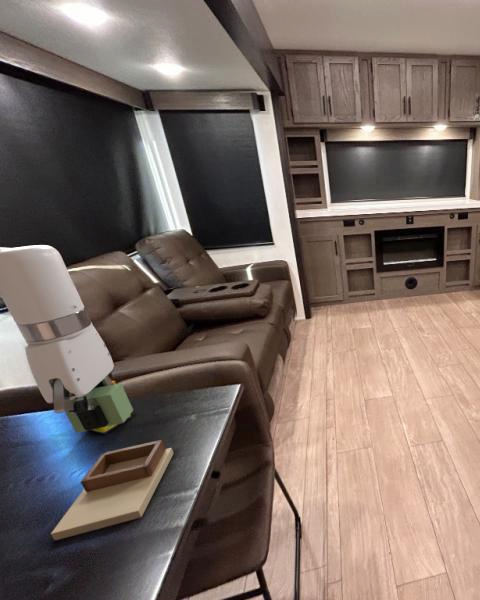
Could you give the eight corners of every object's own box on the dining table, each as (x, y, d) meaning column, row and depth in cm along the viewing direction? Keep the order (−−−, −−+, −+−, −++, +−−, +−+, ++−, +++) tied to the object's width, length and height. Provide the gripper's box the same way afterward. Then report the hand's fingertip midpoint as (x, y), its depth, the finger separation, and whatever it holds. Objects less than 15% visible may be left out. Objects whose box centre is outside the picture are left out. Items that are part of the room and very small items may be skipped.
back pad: (123, 422, 56) (110, 394, 54) (76, 433, 54) (60, 404, 52) (133, 410, 59) (121, 383, 57) (89, 419, 57) (74, 391, 55)
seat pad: (142, 519, 53) (132, 500, 51) (55, 542, 50) (42, 523, 49) (174, 454, 66) (167, 437, 64) (106, 470, 63) (97, 453, 61)
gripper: (65, 311, 57) (107, 396, 63) (-23, 355, 41) (43, 461, 48) (114, 304, 58) (149, 387, 65) (46, 344, 43) (101, 448, 50)
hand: (104, 418), depth 56 cm, fingers closed on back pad, 3 cm apart
